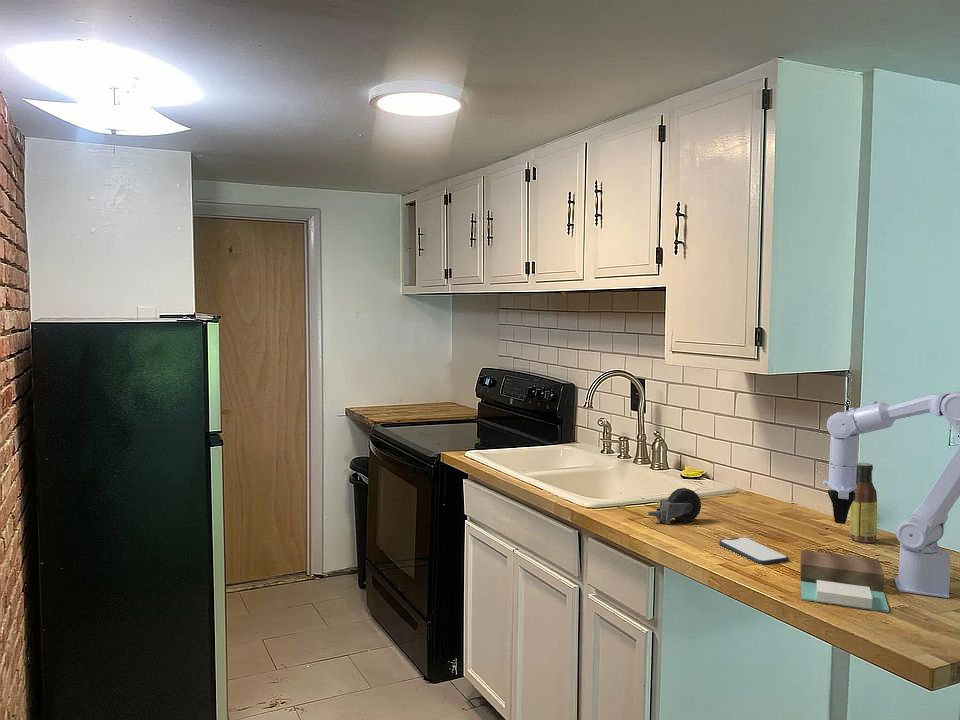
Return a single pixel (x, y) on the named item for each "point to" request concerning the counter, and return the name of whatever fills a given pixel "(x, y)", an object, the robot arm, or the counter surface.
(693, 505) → the caster wheel
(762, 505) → the counter surface
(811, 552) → the block
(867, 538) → the sauce bottle
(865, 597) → the tile
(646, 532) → the counter surface
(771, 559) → the phone case
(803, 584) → the mat
